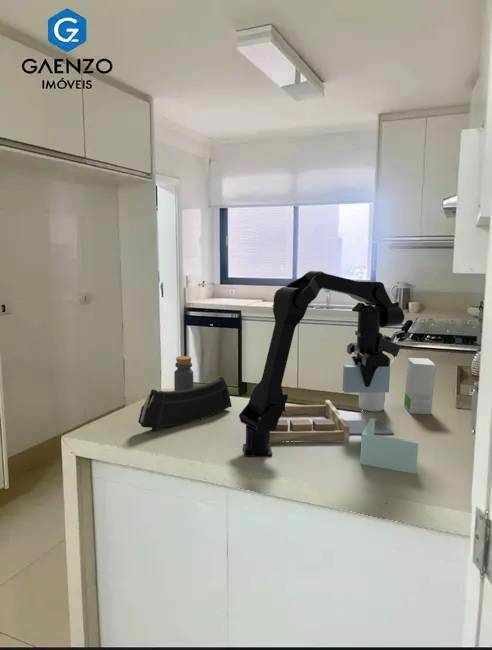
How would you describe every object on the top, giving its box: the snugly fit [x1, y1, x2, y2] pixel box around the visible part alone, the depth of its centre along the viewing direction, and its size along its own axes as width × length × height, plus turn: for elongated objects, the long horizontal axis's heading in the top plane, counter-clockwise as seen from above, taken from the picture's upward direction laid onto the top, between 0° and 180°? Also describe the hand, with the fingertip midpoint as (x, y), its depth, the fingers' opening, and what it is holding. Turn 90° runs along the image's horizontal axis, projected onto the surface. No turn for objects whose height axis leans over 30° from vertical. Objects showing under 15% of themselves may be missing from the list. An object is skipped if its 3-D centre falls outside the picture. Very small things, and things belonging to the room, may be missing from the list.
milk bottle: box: [358, 392, 386, 412], centre depth 148 cm, size 8×8×20 cm
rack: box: [270, 399, 350, 443], centre depth 132 cm, size 22×23×4 cm
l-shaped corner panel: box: [359, 417, 419, 474], centre depth 112 cm, size 12×12×8 cm
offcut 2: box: [288, 418, 313, 431], centre depth 125 cm, size 4×5×4 cm
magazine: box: [137, 376, 233, 432], centre depth 136 cm, size 17×3×30 cm
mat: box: [344, 419, 395, 436], centre depth 132 cm, size 10×13×1 cm
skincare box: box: [403, 357, 437, 415], centre depth 147 cm, size 8×7×16 cm
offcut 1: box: [274, 418, 289, 431], centre depth 125 cm, size 4×5×4 cm
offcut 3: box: [312, 418, 336, 431], centre depth 125 cm, size 4×5×4 cm
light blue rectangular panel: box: [342, 364, 391, 394], centre depth 130 cm, size 2×12×7 cm, turn 93°
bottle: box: [173, 355, 194, 391], centre depth 150 cm, size 6×6×15 cm
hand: (365, 385), depth 130 cm, fingers closed on light blue rectangular panel, 2 cm apart
